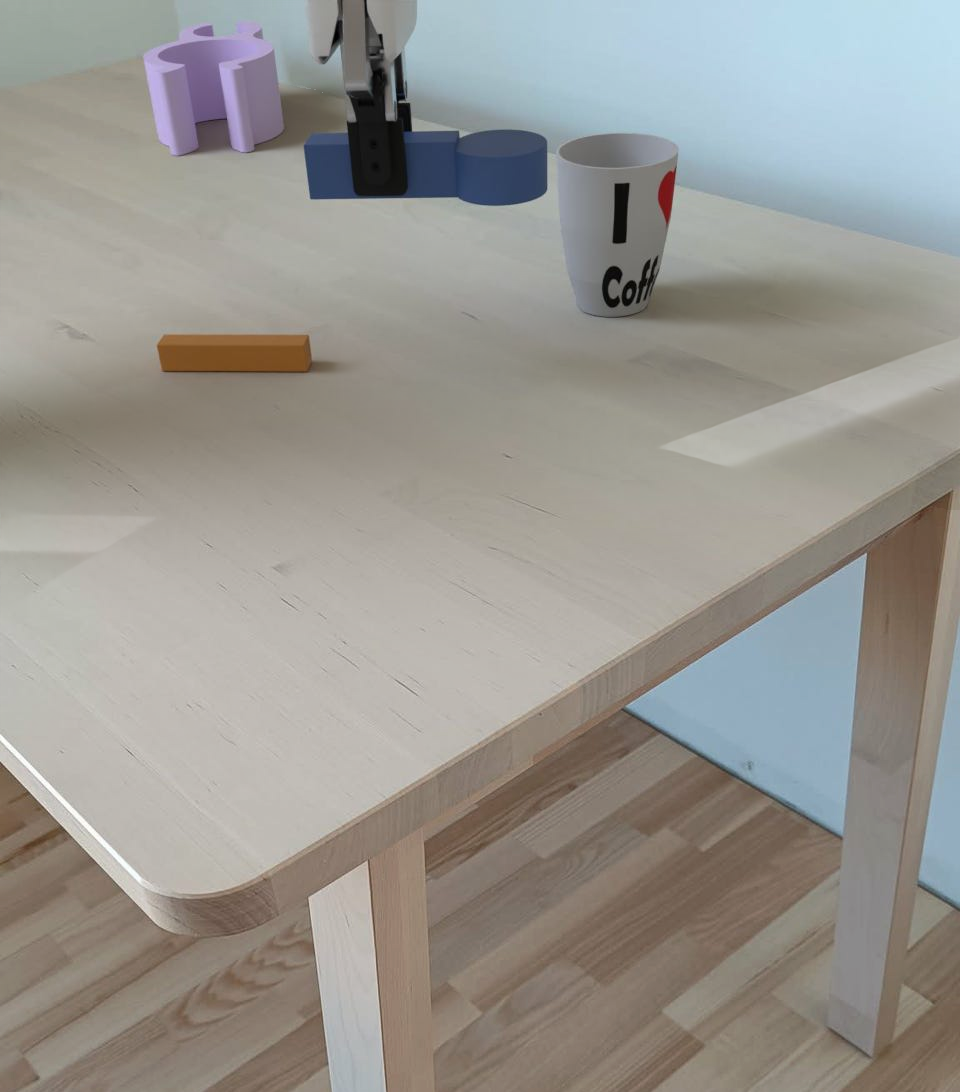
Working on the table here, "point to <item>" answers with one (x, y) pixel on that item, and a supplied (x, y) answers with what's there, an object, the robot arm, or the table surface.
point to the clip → (215, 86)
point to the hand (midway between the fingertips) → (385, 183)
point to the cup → (615, 217)
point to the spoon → (442, 166)
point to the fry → (234, 352)
